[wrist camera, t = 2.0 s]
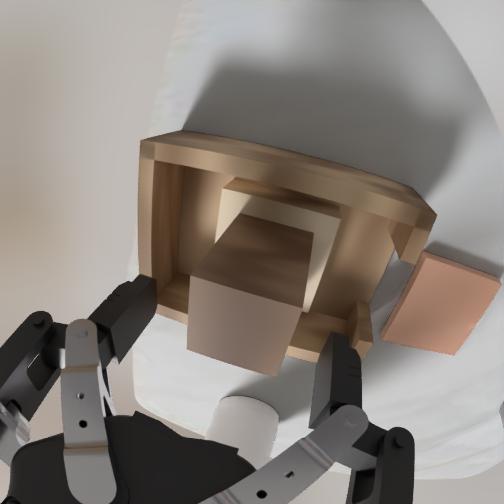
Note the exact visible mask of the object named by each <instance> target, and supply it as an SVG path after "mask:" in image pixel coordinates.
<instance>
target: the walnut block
mask: <svg viewBox="0 0 504 504" xmlns="http://www.w3.org/2000/svg"><path fill="white" fill-rule="evenodd" d="M313 237H314V233H313V232H309V231H306V230H302V229H299V228H295V227H291V226H287V225H284V224H280V223H276V222H273V221H269V220H265V219H261V218H257V217H254V216H250V215H246V214H242V213H239V214H238V215H237V216H236V218H235V219H234V220H233V221H232V223H231V224H230V225H229V226H228V228H227V229H226V230H225V232H224V233H223V234H222V235H221V237H220V238H219V239H218V240H217V242H216V243H215V244H214V245H213V247H212V248H211V249H210V251H209V252H208V253H207V254H206V256H205V257H204V258H203V260H202V261H201V262H200V263H199V265H198V266H197V267H196V269H195V270H194V271H193V273H192V274H191V275H190V289H189V307H188V329H187V349H188V350H190V351H193V352H196V353H199V354H202V355H205V356H208V357H210V358H213V359H216V360H220V361H223V362H226V363H229V364H232V365H235V366H238V367H242V368H245V369H248V370H252V371H255V372H259V373H262V374H266V375H269V376H273V377H276V376H277V374H278V371H279V369H280V366H281V364H282V361H283V359H284V356H285V354H286V351H287V349H288V346H289V344H290V341H291V338H292V336H293V333H294V331H295V328H296V325H297V323H298V320H299V317H300V315H301V312H302V309H303V304H304V298H305V292H306V285H307V279H308V272H309V265H310V259H311V251H312V244H313Z"/></svg>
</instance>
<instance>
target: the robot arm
mask: <svg viewBox="0 0 504 504" xmlns="http://www.w3.org/2000/svg"><path fill="white" fill-rule="evenodd" d="M156 310H157V280H156V279H155V278H152V277H149V276H146V275H143V274H140V275H138V276H137V277H136V278H135V280H134V281H133V282H130V281H127V282H125V283H123V284H121V285H119V286H118V287H117V288H116V289H115V290H114V291H113V292H112V294H110V295H109V296H108V297H107V299H105V300H104V301H103V302H102V303H101V304H100V306H99V307H98V308H97V309H96V310H95V311H94V312H93V313H92V314H91V315H90V316H89V318H87V319H78V320H75V321H73V322H71V323H70V324H69V325H67V324H62V323H56V322H53V319H52V317H51V315H50V314H49V313H48V312H45V311H37V312H34V313H32V314H31V315H29V316H28V317H27V319H26V320H25V321H24V322H23V323H22V324H21V325H20V326H19V327H18V328H17V330H16V331H15V332H14V333H13V334H12V335H11V336H10V337H9V338H8V340H7V341H6V342H5V343H4V345H2V347H1V348H0V459H1V460H2V461H4V462H5V463H6V464H7V465H8V466H10V467H11V470H10V471H11V472H10V485H9V490H8V494H7V497H6V498H5V499H4V501H3V502H2V503H1V504H288V503H289V502H290V501H292V500H293V499H294V498H295V497H297V496H298V495H299V494H300V493H302V492H303V491H304V490H305V489H306V488H308V487H309V486H310V485H311V484H312V483H314V482H315V481H316V480H317V479H318V478H319V477H320V476H322V474H324V473H325V472H326V471H327V470H328V469H329V468H330V467H331V466H332V465H333V463H334V462H335V461H336V462H338V463H341V464H343V465H345V466H347V467H349V468H352V469H351V476H350V482H349V488H348V494H347V499H346V504H412V502H413V489H414V461H415V443H414V438H413V436H412V434H411V433H410V432H409V431H408V430H406V429H405V428H402V427H394V428H392V429H390V430H389V431H387V430H385V429H382V428H380V427H378V426H376V425H374V424H372V423H371V422H370V421H369V420H368V417H367V415H366V413H365V412H364V411H363V410H362V379H361V377H362V374H361V358H360V356H359V354H358V352H357V350H356V349H353V348H349V336H348V335H346V334H341V333H337V332H333V331H332V332H331V333H330V335H329V337H328V339H327V341H326V343H325V345H324V347H323V349H322V351H321V353H320V355H319V358H318V361H317V365H316V373H315V382H314V390H313V398H312V406H311V413H310V421H309V427H308V428H310V429H315V430H314V431H312V432H311V433H310V434H309V435H307V436H306V437H305V438H301V439H300V440H298V441H297V442H296V443H294V444H293V445H292V446H290V447H289V448H288V449H286V450H285V451H284V452H282V453H281V454H280V455H278V456H277V457H276V458H274V459H273V460H271V461H270V462H268V463H267V464H266V465H264V466H263V467H261V468H260V469H258V470H257V469H256V468H255V467H254V466H253V465H252V464H251V463H250V462H248V461H247V460H246V459H244V458H243V457H241V456H239V455H238V454H237V453H238V450H239V448H236V447H232V446H229V445H225V444H222V443H219V442H216V441H212V440H202V439H194V438H186V437H182V436H180V435H179V434H177V433H176V432H175V431H173V430H172V429H170V428H169V427H167V426H166V425H164V424H163V423H162V422H160V421H158V420H156V419H153V418H151V417H149V416H147V415H145V414H142V413H140V412H138V411H135V413H134V415H133V416H128V415H116V413H115V409H114V405H113V401H112V395H111V388H110V381H109V374H108V367H107V366H108V364H109V363H110V361H112V362H115V363H116V364H120V362H121V361H122V359H123V358H124V357H125V355H126V354H127V352H128V351H129V350H130V348H131V347H132V345H133V344H134V343H135V341H136V340H137V338H138V337H139V336H140V334H141V333H142V332H143V330H144V329H145V327H146V326H147V325H148V323H149V322H150V321H151V319H152V318H153V316H154V315H155V312H156ZM38 354H39V355H38ZM37 355H38V356H37ZM36 356H37V357H36ZM35 357H36V359H35V360H34V358H35ZM33 360H34V361H33ZM32 361H33V362H32ZM31 362H32V364H31V365H30V363H31ZM29 365H30V366H29ZM28 366H29V368H28ZM60 375H61V404H62V420H63V431H64V432H63V433H60V434H57V435H54V436H51V437H48V438H44V439H41V440H38V441H34V442H31V443H28V444H27V442H28V441H29V440H30V424H29V421H30V420H31V418H32V417H33V415H34V413H35V412H36V410H37V409H38V407H39V406H40V404H41V403H42V401H43V400H44V398H45V397H46V395H47V393H48V392H49V391H50V389H51V388H52V386H53V385H54V383H55V382H56V380H57V379H58V377H59V376H60ZM500 415H501V419H502V423H503V427H504V403H503V404H502V406H501V408H500Z"/></svg>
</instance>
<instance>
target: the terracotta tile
mask: <svg viewBox="0 0 504 504" xmlns="http://www.w3.org/2000/svg"><path fill="white" fill-rule="evenodd" d="M500 286H501V282H500V281H499V280H498V278H497V277H495V276H492V275H489V274H487V273H484V272H481V271H479V270H476V269H473V268H471V267H468V266H465V265H462V264H459V263H457V262H454V261H451V260H448V259H445V258H442V257H439V256H437V255H434V254H431V253H428V252H425V251H422V254H421V256H420V258H419V260H418V262H417V264H416V267H415V269H414V271H413V273H412V275H411V277H410V279H409V281H408V283H407V285H406V287H405V289H404V291H403V293H402V295H401V297H400V298H399V300H398V302H397V304H396V306H395V308H394V310H393V311H392V313H391V315H390V317H389V318H388V320H387V322H386V324H385V325H384V327H383V329H382V331H381V339H382V340H383V341H387V342H392V343H396V344H401V345H405V346H410V347H415V348H419V349H424V350H429V351H434V352H439V353H445V354H450V355H455V354H456V352H457V351H458V350H459V348H460V347H461V346H462V344H463V343H464V342H465V340H466V339H467V337H468V336H469V335H470V333H471V332H472V330H473V329H474V327H475V326H476V324H477V323H478V322H479V320H480V319H481V317H482V315H483V314H484V312H485V311H486V309H487V308H488V306H489V304H490V303H491V301H492V299H493V298H494V296H495V294H496V293H497V291H498V289H499V288H500Z"/></svg>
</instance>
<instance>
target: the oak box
mask: <svg viewBox="0 0 504 504" xmlns="http://www.w3.org/2000/svg"><path fill="white" fill-rule="evenodd" d="M139 157H140V158H139V177H138V258H139V275H140V274H143V275H146V276H149V277H152V278H155V279H156V280H157V310H156V312H155V313H157V314H159V315H162V316H165V317H167V318H170V319H173V320H176V321H178V322H181V323H184V324H187V325H188V307H189V289H190V275H191V274H192V273H193V271H194V270H195V269H196V267H197V266H198V265H199V263H200V262H201V261H202V260H203V258H204V257H205V256H206V254H207V253H208V252H209V251H210V249H211V248H212V247H213V245H214V244H215V243H216V242H217V240H218V239H219V238H220V237H221V235H222V234H223V233H224V232H225V230H226V229H227V228H228V226H229V225H230V224H231V223H232V221H233V220H234V219H235V218H236V216H237V215H238V214H239V213H242V214H246V215H250V216H254V217H257V218H261V219H265V220H269V221H273V222H276V223H280V224H284V225H287V226H291V227H295V228H299V229H302V230H306V231H309V232H313V233H314V237H313V244H312V251H311V259H310V265H309V272H308V279H307V285H306V292H305V298H304V304H303V309H302V312H301V315H300V317H299V320H298V323H297V325H296V328H295V331H294V333H293V336H292V338H291V341H290V344H289V346H288V349H287V351H286V354H285V355H287V356H291V357H295V358H299V359H302V360H306V361H310V362H315V363H317V361H318V358H319V355H320V353H321V351H322V349H323V347H324V345H325V343H326V341H327V339H328V337H329V335H330V333H331V332H332V331H333V332H337V333H341V334H346V335H348V336H349V348H353V349H356V350H357V352H358V354H359V356H360V358H361V362H362V360H363V359H364V357H365V356H366V354H367V353H368V351H369V349H370V348H371V346H372V345H373V335H372V326H371V317H370V309H369V303H370V301H371V299H372V297H373V295H374V293H375V290H376V288H377V286H378V284H379V282H380V280H381V278H382V275H383V273H384V271H385V269H386V267H387V264H388V262H389V260H390V257H391V255H392V253H393V250H394V248H395V249H396V252H397V254H398V257H399V259H400V261H404V262H407V263H410V264H413V265H416V263H417V261H418V259H419V257H420V254H421V252H422V250H423V248H424V245H425V243H426V241H427V239H428V236H429V234H430V231H431V229H432V227H433V224H434V222H435V219H436V217H437V214H436V213H435V212H434V211H433V210H432V209H431V207H430V206H429V205H428V204H427V203H426V202H425V201H424V200H423V199H422V197H421V196H420V195H419V194H418V193H417V192H416V191H415V190H414V189H413V188H411V187H408V186H406V185H403V184H400V183H397V182H394V181H391V180H389V179H386V178H383V177H380V176H377V175H374V174H370V173H367V172H364V171H361V170H358V169H355V168H351V167H348V166H344V165H341V164H338V163H334V162H331V161H327V160H323V159H320V158H316V157H312V156H308V155H304V154H300V153H296V152H292V151H288V150H284V149H280V148H275V147H271V146H266V145H262V144H257V143H252V142H247V141H242V140H237V139H232V138H227V137H221V136H215V135H209V134H203V133H197V132H190V131H183V130H180V131H175V132H171V133H167V134H163V135H159V136H155V137H151V138H147V139H144V140H141V141H140V156H139Z"/></svg>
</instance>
